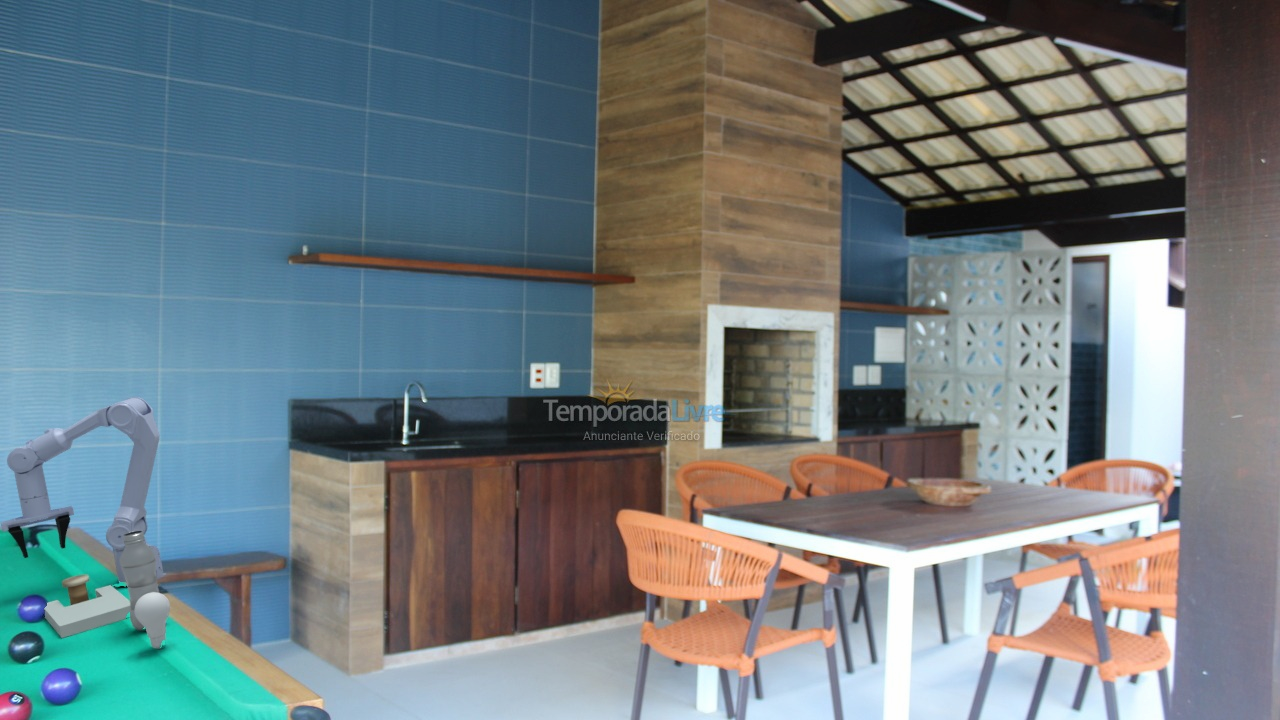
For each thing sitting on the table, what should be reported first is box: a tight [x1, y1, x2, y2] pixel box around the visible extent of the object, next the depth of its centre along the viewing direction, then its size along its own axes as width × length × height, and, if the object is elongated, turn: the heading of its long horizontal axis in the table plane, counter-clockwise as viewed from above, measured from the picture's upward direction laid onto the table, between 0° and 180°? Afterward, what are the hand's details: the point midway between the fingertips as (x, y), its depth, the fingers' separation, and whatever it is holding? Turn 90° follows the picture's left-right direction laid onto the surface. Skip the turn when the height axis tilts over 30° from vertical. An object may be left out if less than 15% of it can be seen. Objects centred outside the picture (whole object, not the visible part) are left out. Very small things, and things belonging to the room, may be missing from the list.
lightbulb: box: [134, 592, 171, 650], centre depth 189 cm, size 6×6×11 cm
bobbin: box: [61, 574, 90, 605], centre depth 220 cm, size 5×5×7 cm
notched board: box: [44, 584, 131, 639], centre depth 215 cm, size 22×14×2 cm, turn 40°
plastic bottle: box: [120, 531, 160, 631], centre depth 201 cm, size 6×7×20 cm
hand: (44, 552), depth 233 cm, fingers open, 7 cm apart
